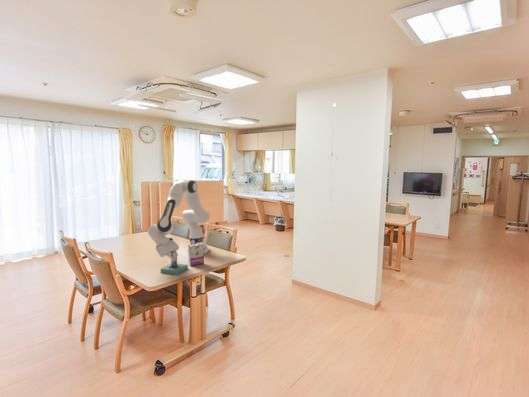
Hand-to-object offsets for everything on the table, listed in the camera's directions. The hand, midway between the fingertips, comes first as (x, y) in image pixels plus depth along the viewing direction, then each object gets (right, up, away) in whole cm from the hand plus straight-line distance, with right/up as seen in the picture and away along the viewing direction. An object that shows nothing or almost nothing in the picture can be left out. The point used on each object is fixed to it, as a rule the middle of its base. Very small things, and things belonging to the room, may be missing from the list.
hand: (174, 257), depth 222 cm
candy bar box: (+12, -9, +16) cm, 22 cm away
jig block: (-1, -10, +1) cm, 11 cm away
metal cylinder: (-1, -6, +1) cm, 6 cm away
